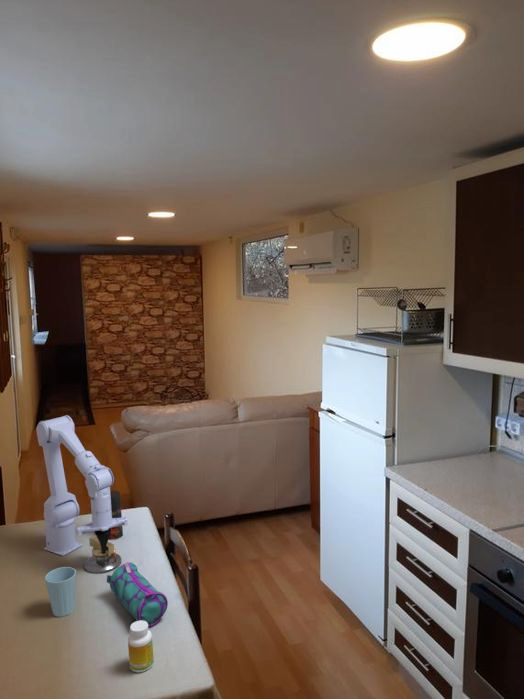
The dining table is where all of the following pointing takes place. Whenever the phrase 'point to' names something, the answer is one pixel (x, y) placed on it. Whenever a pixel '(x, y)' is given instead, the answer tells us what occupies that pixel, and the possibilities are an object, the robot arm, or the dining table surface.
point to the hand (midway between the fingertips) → (104, 552)
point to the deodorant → (116, 515)
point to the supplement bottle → (140, 647)
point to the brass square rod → (97, 547)
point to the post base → (102, 563)
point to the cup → (61, 590)
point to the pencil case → (137, 594)
